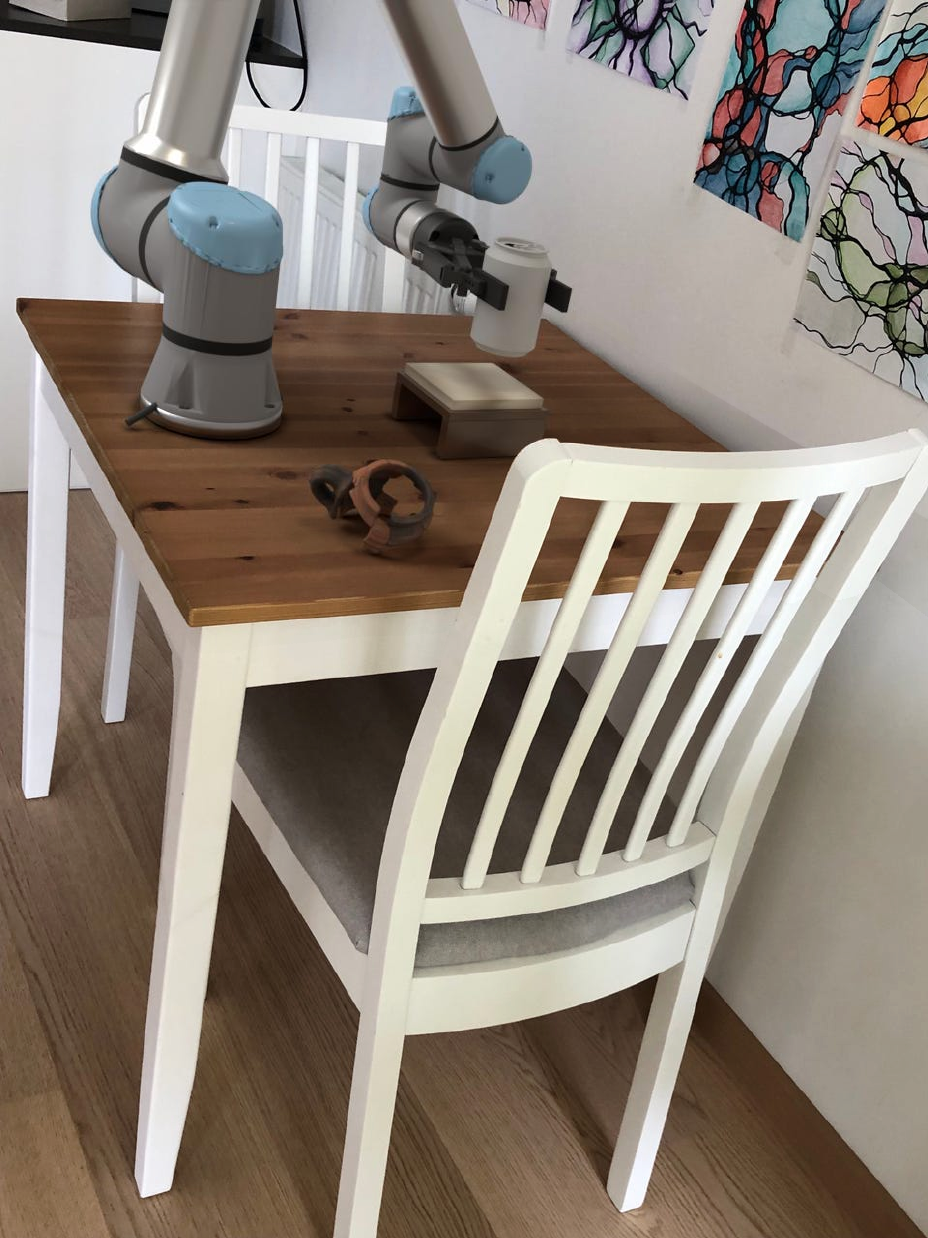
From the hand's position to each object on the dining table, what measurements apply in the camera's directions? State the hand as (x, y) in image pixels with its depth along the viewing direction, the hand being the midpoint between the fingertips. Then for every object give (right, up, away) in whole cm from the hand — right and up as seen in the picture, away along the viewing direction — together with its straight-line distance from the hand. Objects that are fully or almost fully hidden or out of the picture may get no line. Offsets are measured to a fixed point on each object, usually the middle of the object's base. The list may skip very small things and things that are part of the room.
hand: (535, 299), depth 134 cm
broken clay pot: (-17, -26, -16) cm, 35 cm away
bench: (-8, -13, +11) cm, 19 cm away
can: (-4, -4, +7) cm, 9 cm away
